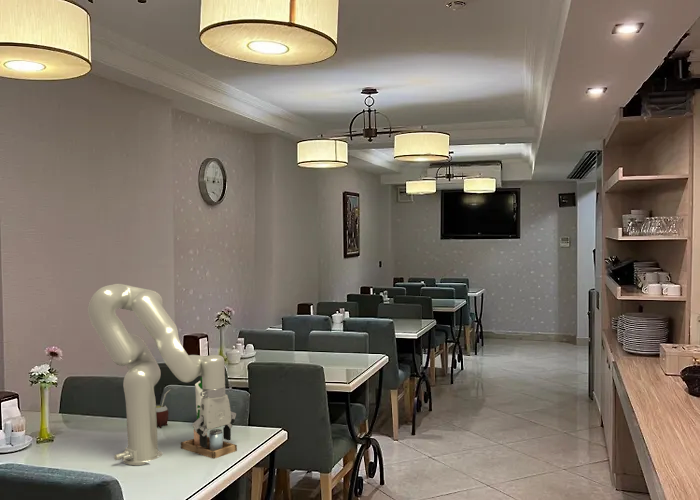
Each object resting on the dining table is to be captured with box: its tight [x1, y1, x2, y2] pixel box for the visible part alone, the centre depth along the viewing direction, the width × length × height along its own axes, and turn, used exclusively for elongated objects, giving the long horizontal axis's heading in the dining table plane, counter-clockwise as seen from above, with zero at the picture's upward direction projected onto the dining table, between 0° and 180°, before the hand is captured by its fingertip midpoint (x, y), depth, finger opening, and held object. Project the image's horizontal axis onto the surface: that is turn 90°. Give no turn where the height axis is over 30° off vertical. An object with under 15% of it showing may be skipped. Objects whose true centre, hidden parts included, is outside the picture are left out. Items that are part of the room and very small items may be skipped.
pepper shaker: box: [193, 425, 208, 446], centre depth 228 cm, size 4×4×7 cm
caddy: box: [180, 436, 238, 459], centre depth 225 cm, size 10×18×3 cm, turn 49°
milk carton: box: [194, 376, 203, 421], centre depth 255 cm, size 9×9×20 cm
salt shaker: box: [208, 428, 224, 451], centre depth 222 cm, size 4×4×7 cm
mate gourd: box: [156, 388, 172, 430], centre depth 260 cm, size 8×8×15 cm
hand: (215, 443), depth 222 cm, fingers open, 9 cm apart
